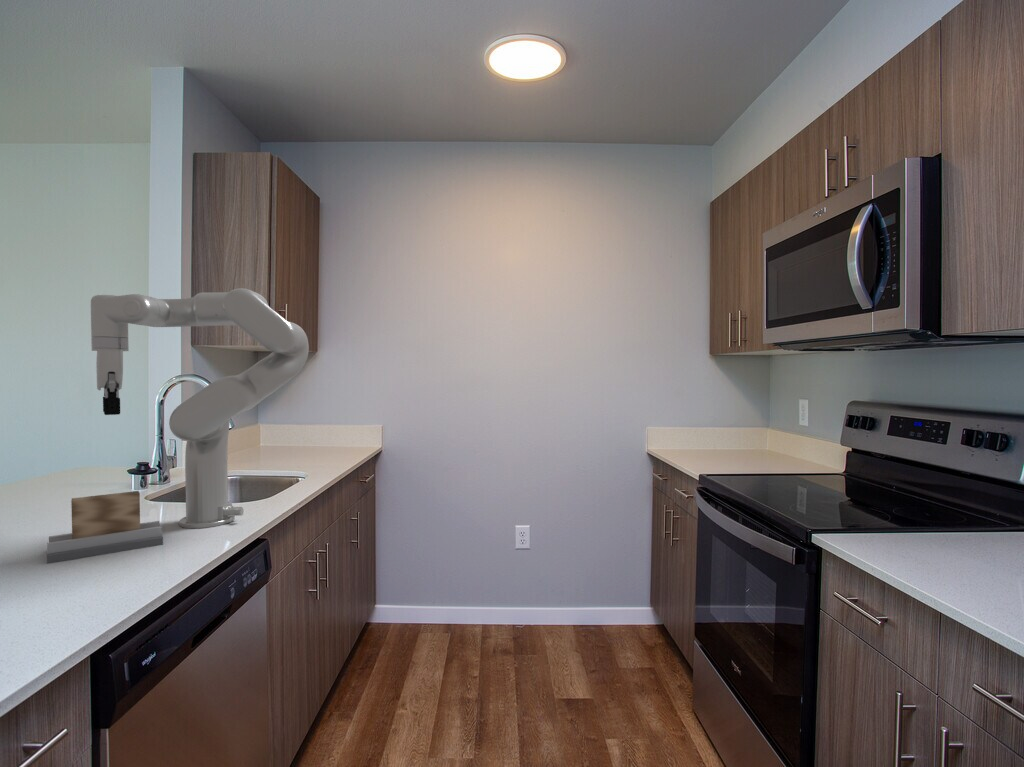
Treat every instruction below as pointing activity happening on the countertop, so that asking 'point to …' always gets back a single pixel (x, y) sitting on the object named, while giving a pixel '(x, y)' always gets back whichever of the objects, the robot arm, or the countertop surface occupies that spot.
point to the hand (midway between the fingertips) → (111, 413)
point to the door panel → (105, 514)
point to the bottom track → (103, 543)
